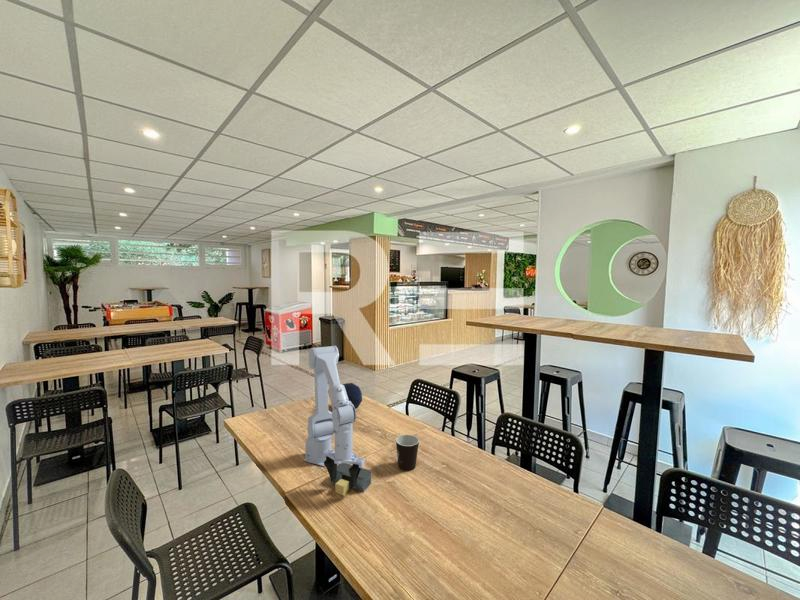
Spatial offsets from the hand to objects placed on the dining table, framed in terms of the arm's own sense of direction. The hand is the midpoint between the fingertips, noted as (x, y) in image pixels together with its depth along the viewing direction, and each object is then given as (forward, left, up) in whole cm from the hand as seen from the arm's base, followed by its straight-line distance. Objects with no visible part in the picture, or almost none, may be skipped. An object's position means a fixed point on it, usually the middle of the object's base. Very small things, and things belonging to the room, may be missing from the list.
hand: (343, 483), depth 105 cm
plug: (0, +5, -3) cm, 6 cm away
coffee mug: (+13, +24, -3) cm, 27 cm away
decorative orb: (-34, +57, -3) cm, 66 cm away
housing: (0, +5, -3) cm, 6 cm away
